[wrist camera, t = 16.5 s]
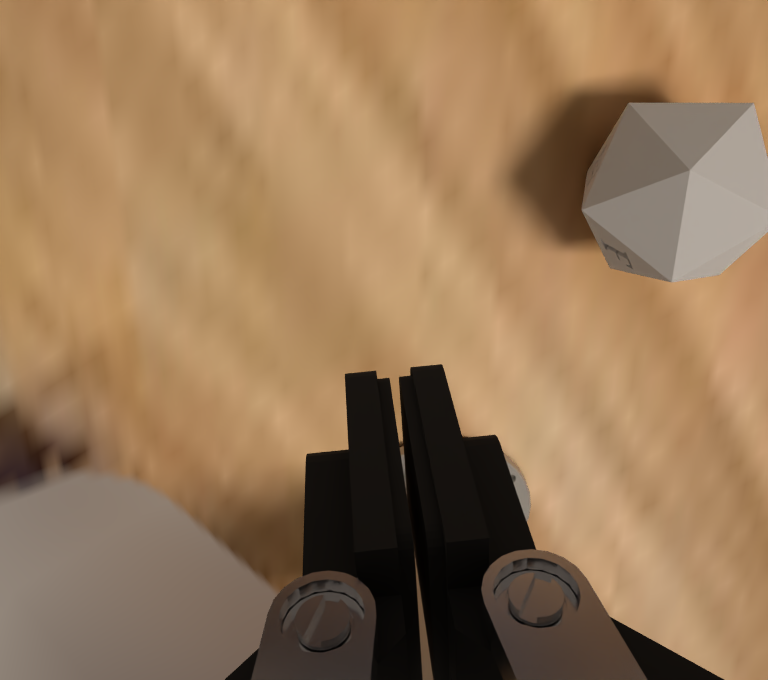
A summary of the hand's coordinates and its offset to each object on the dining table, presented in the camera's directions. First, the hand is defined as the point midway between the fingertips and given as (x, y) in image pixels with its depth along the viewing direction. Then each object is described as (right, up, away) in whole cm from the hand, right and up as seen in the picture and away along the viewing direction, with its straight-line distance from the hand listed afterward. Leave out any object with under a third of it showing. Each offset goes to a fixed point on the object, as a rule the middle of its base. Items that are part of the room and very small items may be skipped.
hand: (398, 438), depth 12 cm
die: (+14, +11, +26) cm, 31 cm away
